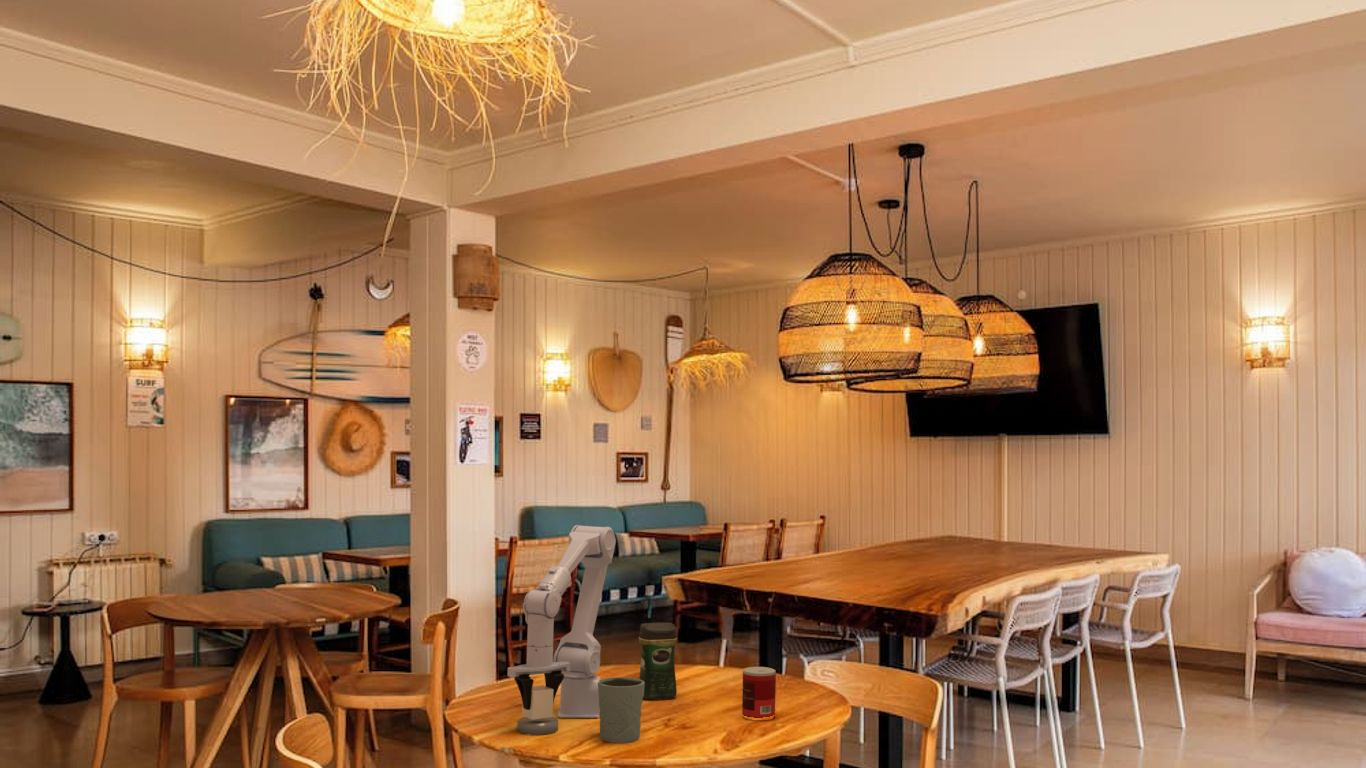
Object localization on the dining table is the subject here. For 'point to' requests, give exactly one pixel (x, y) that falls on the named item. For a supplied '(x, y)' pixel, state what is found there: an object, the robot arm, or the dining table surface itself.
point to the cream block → (540, 703)
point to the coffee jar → (658, 660)
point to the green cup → (620, 709)
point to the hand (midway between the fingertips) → (538, 707)
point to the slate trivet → (537, 726)
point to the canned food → (758, 692)
